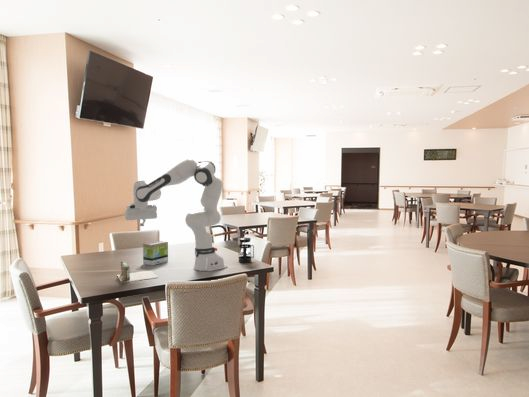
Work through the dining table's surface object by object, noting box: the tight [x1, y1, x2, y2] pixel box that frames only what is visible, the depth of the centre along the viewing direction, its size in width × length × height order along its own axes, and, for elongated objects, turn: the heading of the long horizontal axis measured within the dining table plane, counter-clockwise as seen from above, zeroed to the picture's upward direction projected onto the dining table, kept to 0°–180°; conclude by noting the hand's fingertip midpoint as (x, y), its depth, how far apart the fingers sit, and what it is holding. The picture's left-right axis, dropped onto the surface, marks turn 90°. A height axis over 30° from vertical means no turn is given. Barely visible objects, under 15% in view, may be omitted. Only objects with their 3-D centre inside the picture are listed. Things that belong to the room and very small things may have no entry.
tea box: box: [142, 240, 169, 266], centre depth 265 cm, size 15×10×15 cm, turn 151°
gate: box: [122, 261, 131, 281], centre depth 223 cm, size 14×2×8 cm, turn 31°
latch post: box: [119, 266, 130, 284], centre depth 218 cm, size 4×4×9 cm
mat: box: [116, 270, 159, 283], centre depth 229 cm, size 21×19×1 cm
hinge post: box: [118, 260, 126, 276], centre depth 231 cm, size 4×4×9 cm
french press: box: [238, 229, 255, 264], centre depth 265 cm, size 12×9×23 cm
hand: (141, 226), depth 246 cm, fingers closed
